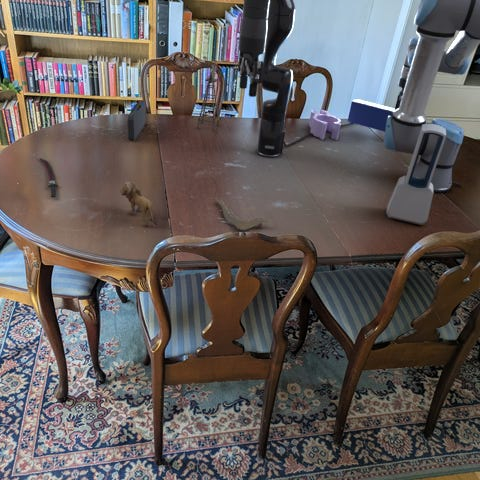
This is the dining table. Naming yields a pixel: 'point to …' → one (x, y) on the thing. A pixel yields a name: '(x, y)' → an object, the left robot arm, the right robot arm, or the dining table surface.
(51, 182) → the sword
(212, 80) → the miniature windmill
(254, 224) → the jawbone
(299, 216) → the dining table surface
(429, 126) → the electronic device
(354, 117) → the bar
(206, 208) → the dining table surface
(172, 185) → the dining table surface
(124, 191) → the lion figurine
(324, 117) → the clip
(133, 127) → the handheld gaming console
